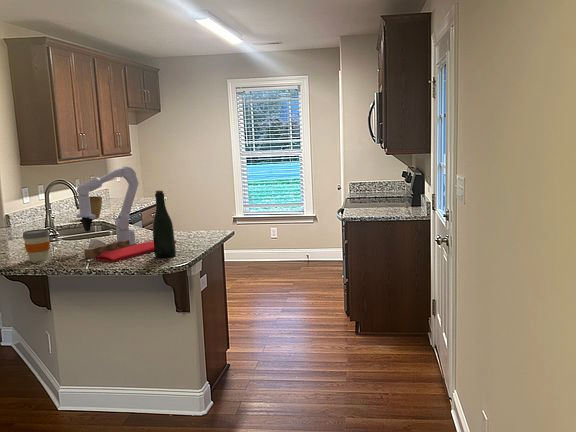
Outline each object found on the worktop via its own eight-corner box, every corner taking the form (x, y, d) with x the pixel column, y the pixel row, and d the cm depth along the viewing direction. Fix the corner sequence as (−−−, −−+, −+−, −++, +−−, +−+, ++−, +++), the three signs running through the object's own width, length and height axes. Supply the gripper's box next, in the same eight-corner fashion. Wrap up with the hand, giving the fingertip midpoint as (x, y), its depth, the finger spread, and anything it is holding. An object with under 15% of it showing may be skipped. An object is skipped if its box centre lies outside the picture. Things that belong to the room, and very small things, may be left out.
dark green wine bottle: (180, 255, 279) (174, 189, 273) (162, 259, 271) (155, 192, 266) (168, 252, 286) (162, 188, 281) (150, 256, 279) (144, 191, 274)
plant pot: (79, 220, 420) (77, 199, 418) (92, 216, 434) (89, 196, 432) (96, 220, 416) (93, 198, 413) (108, 216, 430) (106, 196, 427)
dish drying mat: (94, 260, 281) (93, 253, 281) (158, 244, 313) (158, 237, 312) (112, 263, 272) (111, 256, 271) (177, 246, 303) (176, 239, 303)
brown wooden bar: (126, 247, 306) (125, 239, 305) (130, 248, 304) (129, 239, 303) (85, 258, 285) (84, 249, 284) (88, 258, 283) (87, 250, 283)
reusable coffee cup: (22, 260, 289) (18, 232, 286) (46, 255, 297) (43, 228, 295) (31, 263, 280) (27, 234, 277) (56, 258, 288) (52, 230, 286)
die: (105, 251, 304) (92, 237, 302) (111, 244, 298) (99, 231, 297) (94, 259, 298) (82, 246, 296) (101, 253, 292) (88, 239, 291)
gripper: (70, 207, 303) (73, 231, 305) (86, 208, 294) (89, 233, 297) (81, 205, 308) (84, 229, 311) (97, 206, 300) (100, 231, 302)
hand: (87, 231), depth 304 cm, fingers closed
